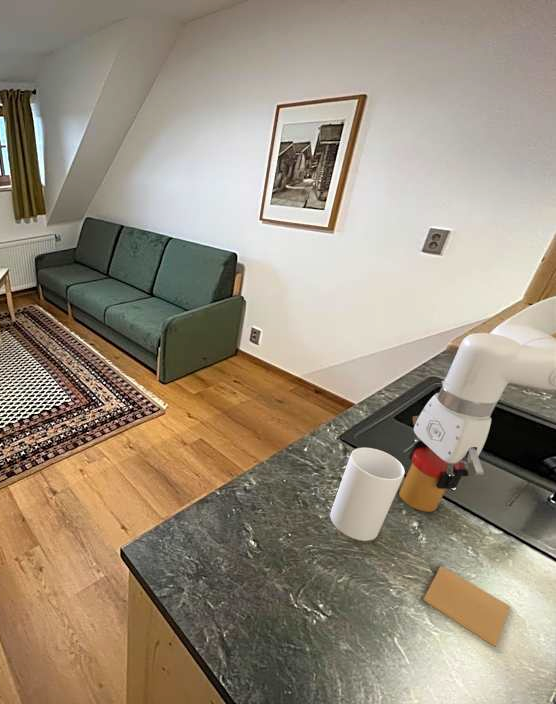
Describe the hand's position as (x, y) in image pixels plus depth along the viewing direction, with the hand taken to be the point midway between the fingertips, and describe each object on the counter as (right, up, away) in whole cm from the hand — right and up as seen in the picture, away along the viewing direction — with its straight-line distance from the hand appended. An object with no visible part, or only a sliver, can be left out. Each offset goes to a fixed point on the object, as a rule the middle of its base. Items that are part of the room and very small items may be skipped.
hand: (430, 472), depth 80 cm
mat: (-7, -17, -15) cm, 24 cm away
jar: (0, -7, +4) cm, 8 cm away
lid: (0, +3, -1) cm, 3 cm away
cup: (-16, -10, 0) cm, 19 cm away
